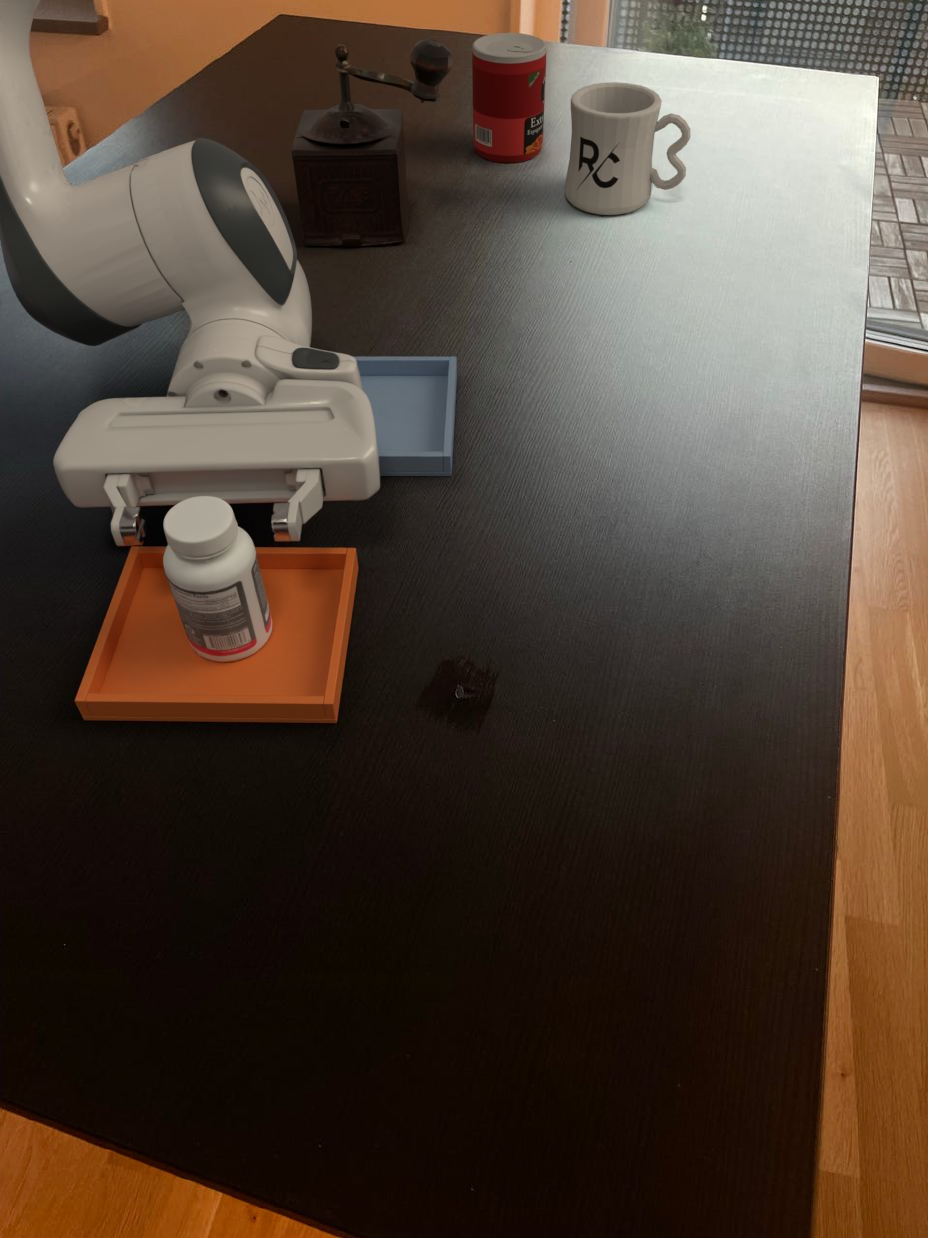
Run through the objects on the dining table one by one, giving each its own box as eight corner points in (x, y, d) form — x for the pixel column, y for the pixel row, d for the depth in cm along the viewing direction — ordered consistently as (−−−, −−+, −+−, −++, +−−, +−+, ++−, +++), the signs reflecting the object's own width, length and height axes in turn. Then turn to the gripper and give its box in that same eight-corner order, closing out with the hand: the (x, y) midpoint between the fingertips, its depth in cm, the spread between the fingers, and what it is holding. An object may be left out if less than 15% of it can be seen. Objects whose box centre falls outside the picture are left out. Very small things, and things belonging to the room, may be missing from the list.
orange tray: (83, 720, 60) (74, 701, 58) (138, 566, 68) (131, 545, 67) (336, 723, 59) (333, 703, 58) (358, 567, 68) (356, 547, 67)
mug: (554, 211, 103) (559, 110, 96) (575, 175, 109) (582, 76, 102) (672, 227, 100) (687, 124, 93) (688, 189, 106) (703, 89, 99)
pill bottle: (219, 593, 66) (186, 477, 59) (289, 616, 64) (264, 501, 57) (171, 649, 63) (130, 534, 55) (244, 676, 61) (211, 561, 54)
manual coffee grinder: (300, 250, 99) (271, 51, 85) (312, 200, 106) (287, 9, 93) (456, 248, 98) (452, 48, 85) (457, 198, 106) (453, 7, 93)
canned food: (539, 165, 111) (543, 57, 103) (468, 162, 112) (466, 54, 104) (546, 137, 116) (550, 32, 108) (478, 134, 117) (477, 30, 109)
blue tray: (249, 475, 75) (245, 455, 74) (276, 375, 84) (273, 355, 82) (451, 476, 74) (450, 456, 73) (457, 375, 83) (456, 356, 82)
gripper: (70, 363, 66) (10, 499, 57) (379, 354, 66) (371, 489, 57) (97, 440, 71) (46, 578, 61) (386, 432, 71) (379, 569, 61)
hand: (205, 535), depth 59 cm, fingers open, 8 cm apart
